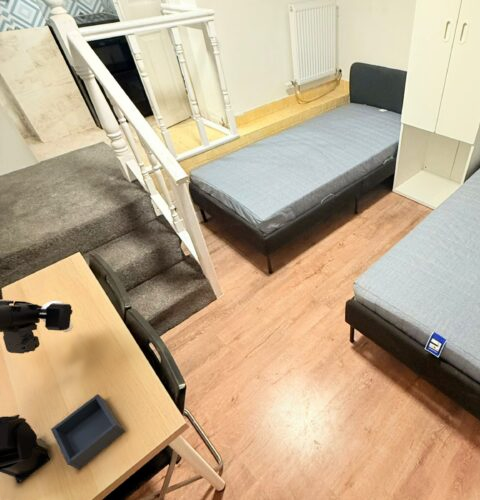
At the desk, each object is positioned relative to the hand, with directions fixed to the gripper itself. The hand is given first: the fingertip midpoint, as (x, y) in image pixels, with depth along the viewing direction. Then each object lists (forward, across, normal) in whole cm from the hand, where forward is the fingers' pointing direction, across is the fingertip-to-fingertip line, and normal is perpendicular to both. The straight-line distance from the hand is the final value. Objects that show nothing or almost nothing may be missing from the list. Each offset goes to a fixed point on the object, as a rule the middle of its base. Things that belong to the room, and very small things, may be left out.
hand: (60, 311), depth 90 cm
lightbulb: (+4, 0, -6) cm, 7 cm away
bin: (-7, +18, -27) cm, 33 cm away
